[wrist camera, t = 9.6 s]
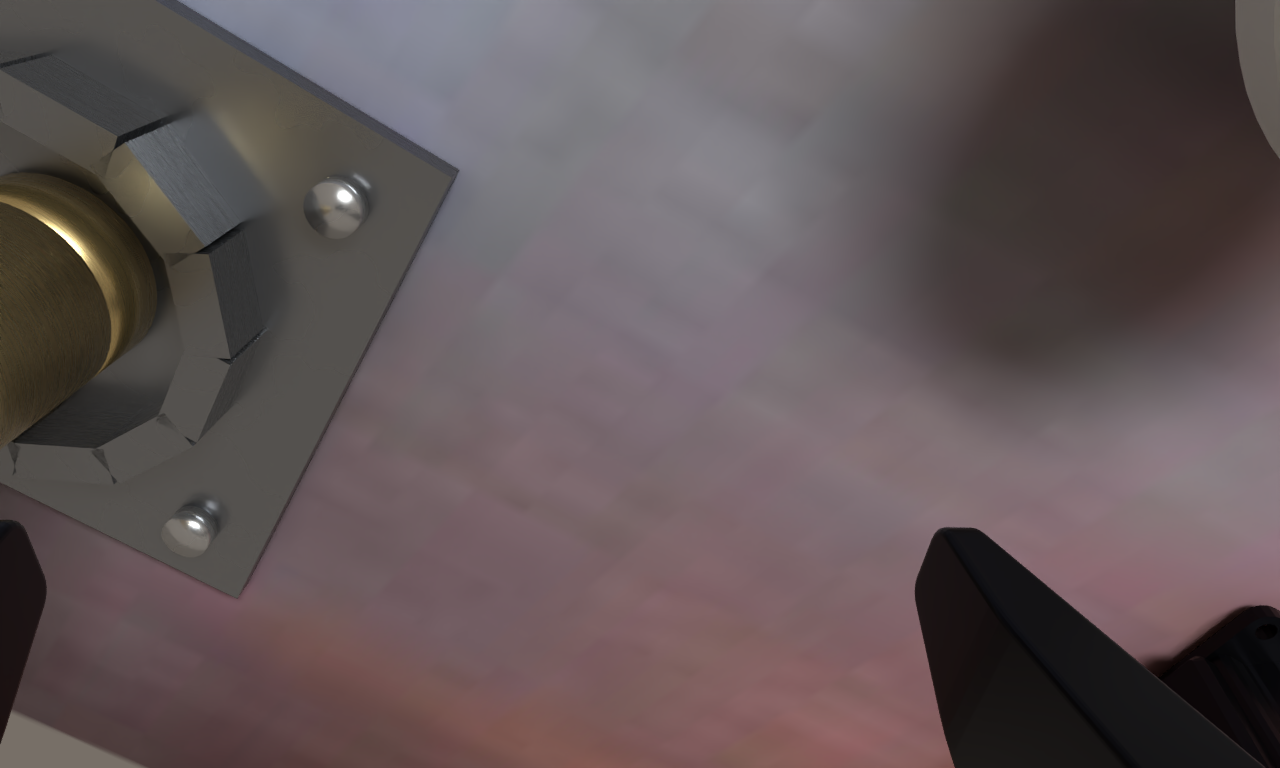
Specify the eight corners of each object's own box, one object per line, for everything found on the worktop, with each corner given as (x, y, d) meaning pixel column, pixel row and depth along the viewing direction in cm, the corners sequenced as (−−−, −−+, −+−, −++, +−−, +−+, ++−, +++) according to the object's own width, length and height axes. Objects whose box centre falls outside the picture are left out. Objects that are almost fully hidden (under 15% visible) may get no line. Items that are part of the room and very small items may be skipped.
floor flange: (459, 170, 20) (429, 200, 18) (247, 584, 27) (208, 639, 25) (-194, -223, 18) (-306, -234, 16) (-258, 334, 24) (-344, 374, 22)
